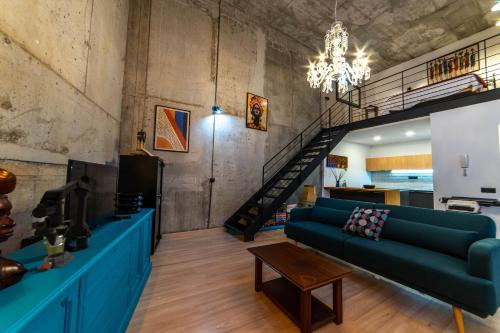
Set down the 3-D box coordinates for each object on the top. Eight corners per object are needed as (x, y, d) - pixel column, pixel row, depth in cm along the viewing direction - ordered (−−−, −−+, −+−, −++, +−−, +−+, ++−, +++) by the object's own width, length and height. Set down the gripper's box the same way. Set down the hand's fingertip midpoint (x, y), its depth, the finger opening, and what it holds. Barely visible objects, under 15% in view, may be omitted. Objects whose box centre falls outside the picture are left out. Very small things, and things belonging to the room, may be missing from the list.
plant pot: (47, 260, 109) (46, 244, 109) (42, 257, 113) (41, 241, 114) (69, 253, 117) (68, 238, 117) (63, 250, 121) (63, 236, 122)
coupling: (54, 244, 105) (54, 235, 105) (66, 243, 106) (65, 234, 106) (46, 248, 100) (46, 238, 100) (58, 247, 101) (58, 237, 101)
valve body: (56, 259, 109) (56, 251, 109) (77, 257, 111) (76, 248, 111) (33, 272, 95) (32, 262, 95) (57, 269, 97) (57, 259, 97)
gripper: (51, 211, 111) (52, 239, 111) (19, 219, 93) (21, 253, 93) (74, 210, 113) (75, 237, 113) (47, 217, 95) (48, 250, 95)
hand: (56, 243), depth 103 cm, fingers closed on coupling, 5 cm apart
